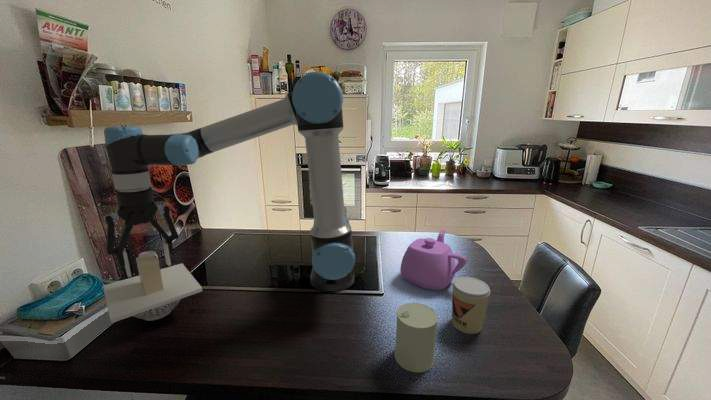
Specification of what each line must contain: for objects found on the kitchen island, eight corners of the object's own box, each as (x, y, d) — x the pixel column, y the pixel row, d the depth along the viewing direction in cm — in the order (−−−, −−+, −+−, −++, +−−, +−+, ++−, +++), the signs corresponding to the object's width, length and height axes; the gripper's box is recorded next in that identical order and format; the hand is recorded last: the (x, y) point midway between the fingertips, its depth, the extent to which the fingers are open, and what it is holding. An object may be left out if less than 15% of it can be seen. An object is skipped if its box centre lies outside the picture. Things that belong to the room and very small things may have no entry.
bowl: (174, 291, 96) (170, 270, 94) (199, 309, 87) (196, 286, 85) (113, 317, 83) (108, 293, 81) (136, 341, 74) (130, 315, 72)
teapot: (455, 303, 90) (459, 258, 86) (393, 282, 102) (395, 241, 98) (474, 273, 108) (479, 234, 104) (420, 258, 120) (423, 222, 116)
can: (390, 343, 74) (392, 301, 71) (427, 341, 75) (430, 299, 72) (399, 374, 65) (401, 327, 62) (440, 371, 66) (444, 325, 63)
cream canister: (441, 318, 83) (445, 280, 80) (467, 310, 87) (471, 273, 84) (465, 340, 75) (470, 298, 72) (493, 330, 79) (499, 290, 76)
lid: (202, 291, 83) (198, 261, 80) (111, 323, 70) (102, 289, 67) (182, 266, 97) (178, 240, 95) (103, 288, 84) (96, 259, 81)
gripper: (176, 181, 85) (188, 253, 91) (77, 192, 71) (98, 277, 77) (184, 185, 80) (195, 261, 86) (78, 198, 66) (100, 289, 72)
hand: (149, 269), depth 82 cm, fingers open, 8 cm apart
